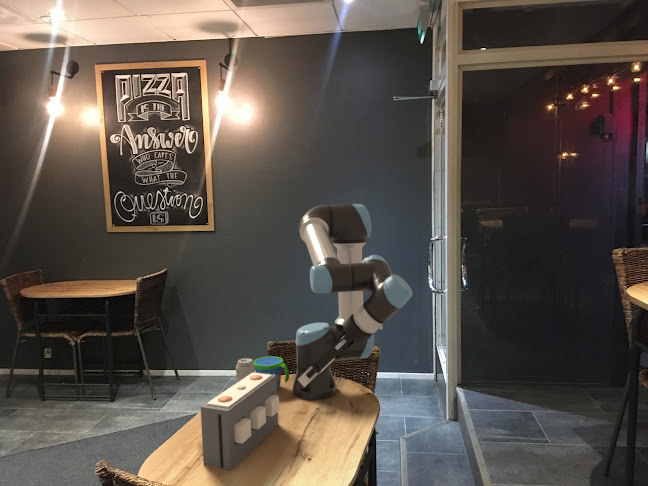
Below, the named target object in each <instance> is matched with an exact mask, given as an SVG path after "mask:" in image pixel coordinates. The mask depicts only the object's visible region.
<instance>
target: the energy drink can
mask: <svg viewBox="0 0 648 486" xmlns="http://www.w3.org/2000/svg"><path fill="white" fill-rule="evenodd" d="M253 362H254V361H253V359H252V358H249V357H244V358H240V359H238V360H237V362H236V363H237V364H236V365H235V372H236V383H237V382H238V381H240V380H241V379H243V378H244V377H246V376H247V375H249V374H250V373H252V372H255V364H254V363H253Z"/></svg>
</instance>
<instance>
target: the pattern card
mask: <svg viewBox="0 0 648 486" xmlns="http://www.w3.org/2000/svg"><path fill="white" fill-rule="evenodd" d="M271 376H272V375H268V374H260V373H251V374H250V375H248V376H247V377H245V378H244V379H242V380H241V381H239V382H238V383H237V382H236V384H235V383H234V384H235V385H234V384H233V386H232V385H231V386H232V387H231V386H229V387H230V388H229V387H228V388H229V389H228V388H226V389H227V390H226V389H225V390H226V391H225V390H223V391H224V392H223V391H222V392H223V393H222V392H221V393H219V394H220V395H219V394H218V395H216V396H217V397H216V396H215V397H213V398H214V399H213V398H211V399H210V400H211V401H210V400H209V401H207V402H208V403H207V402H206V403H207V405H211V406H218V407H224V408H229V407H231V406H232V405H233V404H235V403H236V402H237V401H239V400H240V399H241V398H243V397H244V396H245V395H247V394H248V393H250V392H251V391H252V390H254V389H255V388H256V387H258V386H259V385H260V384H262V383H263V382H264V381H266V380H267V379H269V378H270V377H271Z"/></svg>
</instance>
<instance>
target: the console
mask: <svg viewBox="0 0 648 486" xmlns="http://www.w3.org/2000/svg"><path fill="white" fill-rule="evenodd" d="M252 373H257V372H252ZM250 374H251V373H250ZM250 374H249V375H250ZM260 374H265V373H260ZM268 375H272V376H271V377H270V378H269V379H267V380H266V381H264V382H263V383H262V384H260V385H259V386H258V387H256V388H255V389H254V390H252V391H251V392H250V393H248V394H247V395H245V396H244V397H243V398H241V399H240V400H239V401H237V402H236V403H235V404H233V405H232V406H231V407H229V408H224V407H218V406H211V405H207V403H208V402H209V401H211V400H212V399H214V398H215V397H217V396H218V395H220V394H221V393H223V392H224V391H226V390H227V389H229V388H230V387H232V386H233V385H235V384H236V383H238V382H239V381H238V382H237V381H236V383H234V384H233V385H231V386H229V387H228V388H226V389H225V390H223V391H222V392H221V393H219V394H218V395H216V396H215V397H213V398H212V399H210V400H209V401H207V402H205V403H204V404H203V405H201V406H200V419H201V420H200V421H201V422H200V424H201V440H202V443H201V444H202V461H203V465H204V466H208V467H209V466H210V467H213V468H220V469H221V468H222V467H223V470H227V471H231V470H232V469H233V468H234V467H235V466H237V465H238V464H239V462H241V461H242V459H244V458H245V457H246V456H247V455H248V454H249V453H250V452H251V451H252V450H253V449H254V448H255V447H256V446H257V445H258V444H260V442H262V441H263V440H264V439H265V438H266V436H268V435H269V434H270V433H271V432H272V431H273V430H274V429H275V428H276V427H277V426H278V425H279V411H278V412H277V413H276V414H275V415H274V416H272V417H271V416H266V423H265V424H264V425H262V426H261V427H260V428H259V429H253V428H251V436H250V437H249V438H248V439H247V440H246V441H245V442H244V443H243V444H242V443H236V442H234V424H235V423H236V422H237V421H239V420H240V419H241V418H246V419H250V411H251V410H252V409H254V408H255V407H256V406H264V407H265V402H264V400H265V399H266V398H267V397H268V396H270V395H278V389H277V378H276V375H274V374H268ZM247 376H248V375H247ZM247 376H246V377H247ZM244 378H245V377H244ZM244 378H243V379H244ZM241 380H242V379H241ZM241 380H240V381H241Z"/></svg>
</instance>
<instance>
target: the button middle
mask: <svg viewBox="0 0 648 486" xmlns="http://www.w3.org/2000/svg"><path fill="white" fill-rule="evenodd" d="M250 419H251V428H253V429H259V428H260V427H261V426H262V425H264V424H265V423H266V408H265V407H264V406H256V407H255V408H254V409H252V410H251V411H250Z"/></svg>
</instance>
